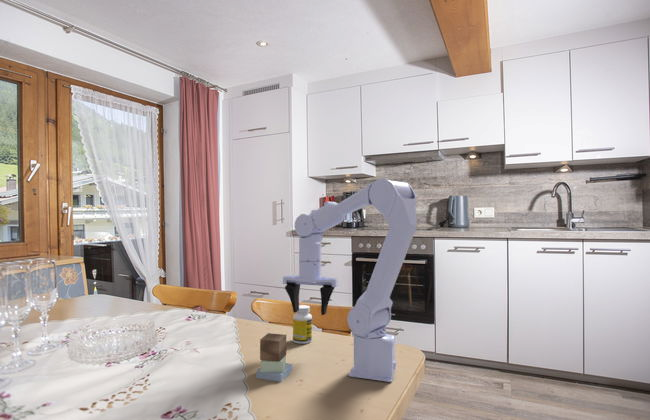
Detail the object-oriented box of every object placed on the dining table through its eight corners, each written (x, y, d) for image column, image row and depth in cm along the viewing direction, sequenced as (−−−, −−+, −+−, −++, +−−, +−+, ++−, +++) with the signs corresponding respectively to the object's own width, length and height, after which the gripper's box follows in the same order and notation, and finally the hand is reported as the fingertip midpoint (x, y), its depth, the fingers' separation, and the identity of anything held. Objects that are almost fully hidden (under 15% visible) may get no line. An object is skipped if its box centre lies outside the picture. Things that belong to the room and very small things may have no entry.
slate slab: (292, 373, 85) (292, 364, 85) (281, 384, 79) (281, 374, 79) (268, 369, 87) (269, 360, 87) (256, 380, 81) (256, 370, 81)
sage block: (285, 362, 86) (285, 353, 86) (283, 371, 81) (283, 361, 81) (264, 362, 86) (264, 353, 86) (260, 371, 81) (260, 361, 81)
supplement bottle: (309, 345, 102) (309, 309, 102) (290, 343, 103) (290, 308, 103) (313, 338, 107) (314, 304, 108) (295, 337, 108) (296, 303, 109)
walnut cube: (286, 354, 85) (286, 334, 85) (279, 361, 81) (279, 341, 81) (268, 352, 86) (268, 333, 86) (260, 359, 82) (260, 339, 82)
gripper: (340, 259, 98) (340, 311, 98) (290, 257, 102) (289, 307, 102) (333, 263, 91) (333, 318, 91) (279, 260, 96) (279, 313, 96)
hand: (309, 312), depth 96 cm, fingers open, 7 cm apart
